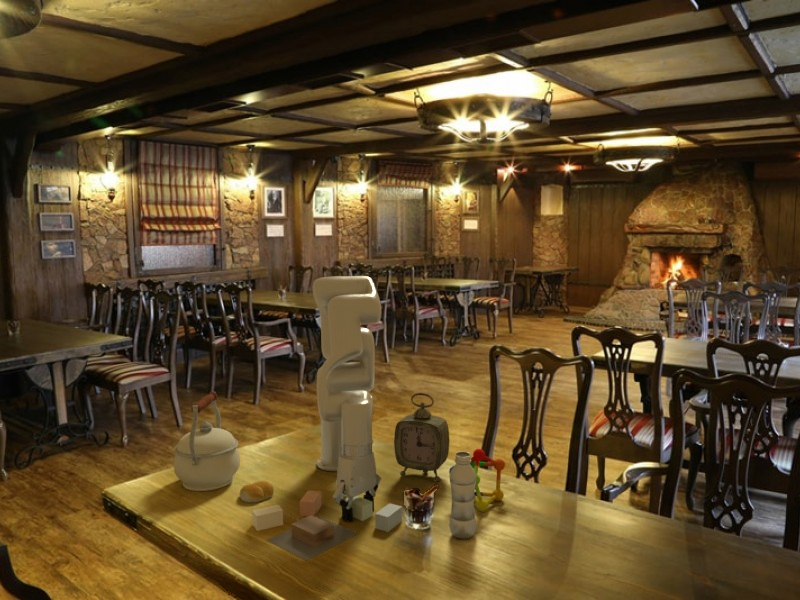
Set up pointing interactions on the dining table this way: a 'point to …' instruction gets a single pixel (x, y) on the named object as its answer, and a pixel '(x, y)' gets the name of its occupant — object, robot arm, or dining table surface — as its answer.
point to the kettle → (206, 452)
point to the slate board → (305, 549)
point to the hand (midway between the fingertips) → (358, 516)
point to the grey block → (388, 517)
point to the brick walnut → (312, 530)
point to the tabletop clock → (421, 440)
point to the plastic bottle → (462, 497)
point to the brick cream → (267, 517)
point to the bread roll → (256, 492)
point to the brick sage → (361, 508)
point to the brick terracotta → (310, 503)
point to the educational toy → (475, 463)
